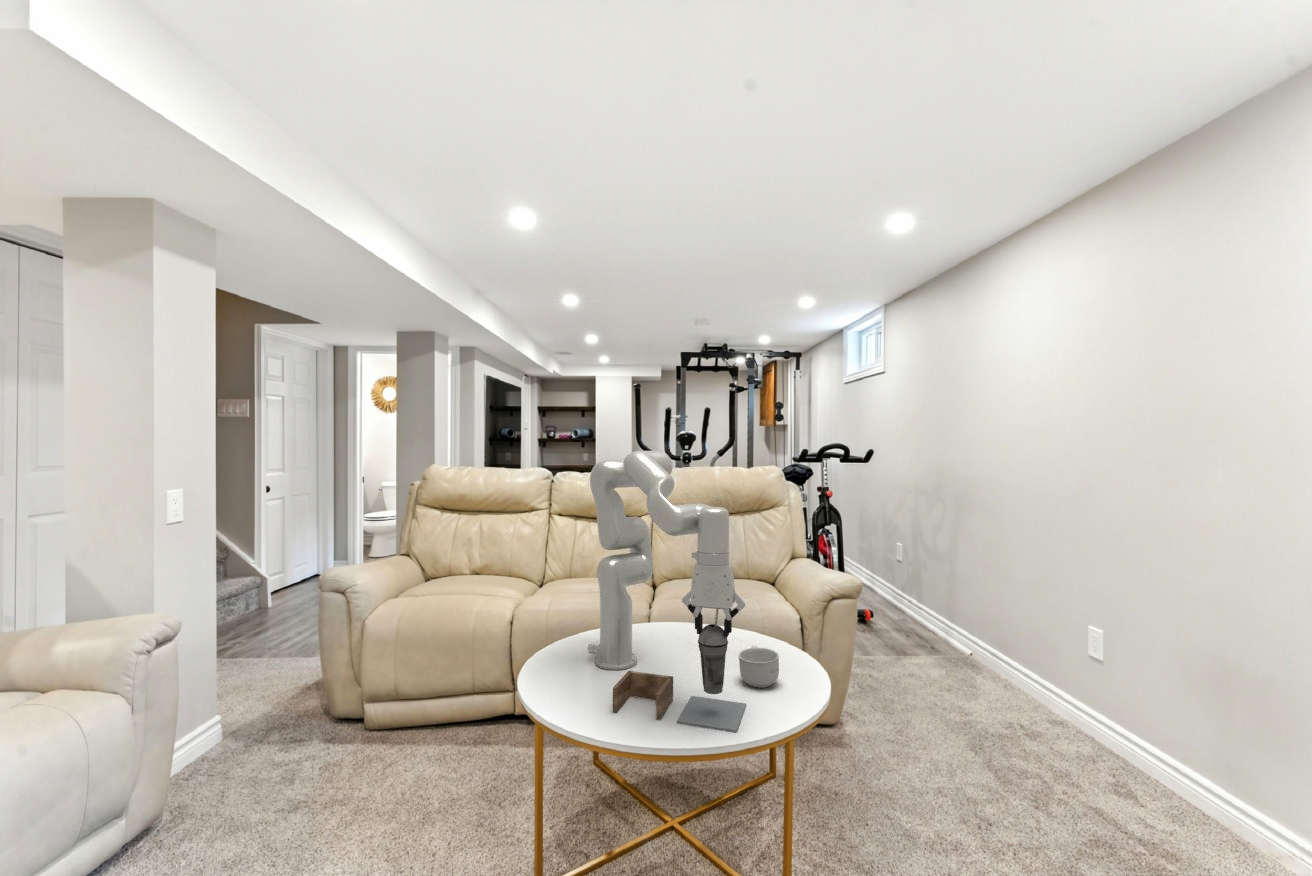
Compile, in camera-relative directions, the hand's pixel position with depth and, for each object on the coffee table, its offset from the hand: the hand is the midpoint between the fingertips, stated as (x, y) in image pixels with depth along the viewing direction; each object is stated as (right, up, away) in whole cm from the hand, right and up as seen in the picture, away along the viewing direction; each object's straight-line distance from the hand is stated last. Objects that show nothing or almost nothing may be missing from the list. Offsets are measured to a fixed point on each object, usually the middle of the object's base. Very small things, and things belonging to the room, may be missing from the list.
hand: (713, 633), depth 137 cm
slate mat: (0, -19, 0) cm, 19 cm away
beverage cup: (0, -14, 0) cm, 14 cm away
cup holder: (-17, -19, +3) cm, 26 cm away
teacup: (+14, -20, +19) cm, 31 cm away
